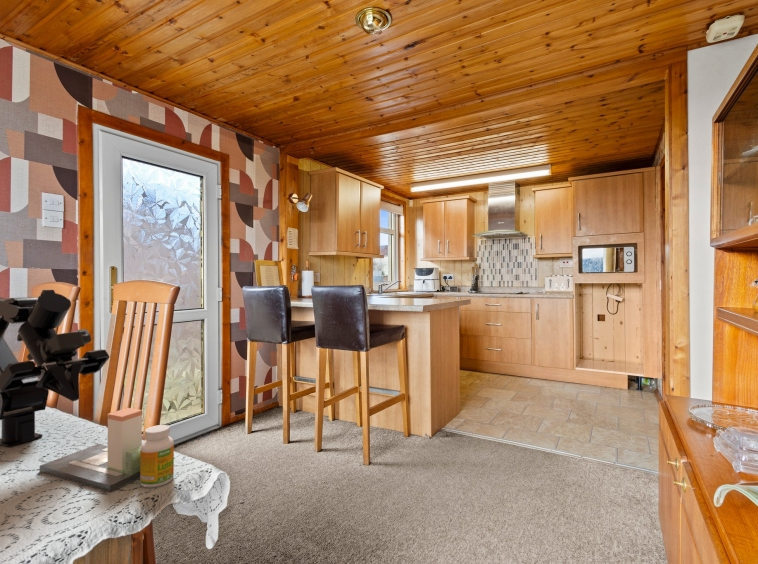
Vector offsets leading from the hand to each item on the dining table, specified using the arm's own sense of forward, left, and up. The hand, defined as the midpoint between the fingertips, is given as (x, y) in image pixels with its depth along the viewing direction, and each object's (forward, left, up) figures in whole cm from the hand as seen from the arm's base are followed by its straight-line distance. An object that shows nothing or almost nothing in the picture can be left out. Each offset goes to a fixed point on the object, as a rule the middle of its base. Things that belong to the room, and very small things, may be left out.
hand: (76, 399), depth 83 cm
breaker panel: (+10, -1, -12) cm, 16 cm away
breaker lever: (+15, 0, -11) cm, 18 cm away
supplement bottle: (+24, -1, -12) cm, 27 cm away
